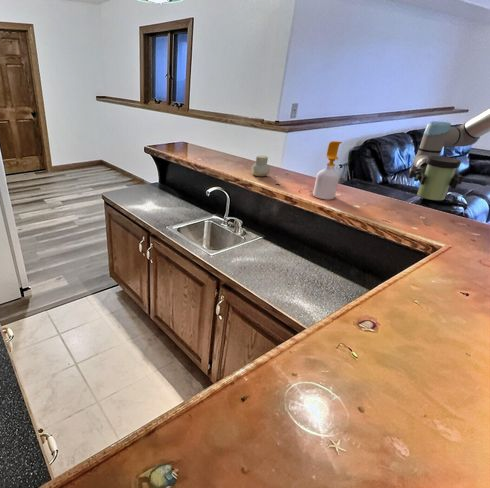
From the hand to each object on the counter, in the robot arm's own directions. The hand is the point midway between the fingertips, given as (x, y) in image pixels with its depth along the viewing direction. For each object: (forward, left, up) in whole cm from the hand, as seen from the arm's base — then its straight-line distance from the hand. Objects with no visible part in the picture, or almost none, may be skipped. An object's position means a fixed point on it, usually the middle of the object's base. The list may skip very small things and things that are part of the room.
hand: (439, 182), depth 116 cm
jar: (+1, -5, -6) cm, 8 cm away
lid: (+1, -5, +7) cm, 8 cm away
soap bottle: (+38, -18, -18) cm, 46 cm away
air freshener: (+75, -33, -18) cm, 84 cm away
